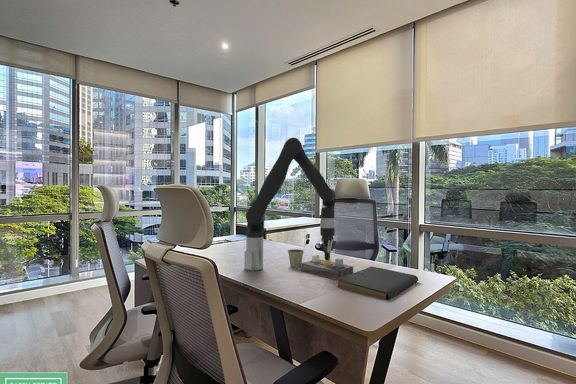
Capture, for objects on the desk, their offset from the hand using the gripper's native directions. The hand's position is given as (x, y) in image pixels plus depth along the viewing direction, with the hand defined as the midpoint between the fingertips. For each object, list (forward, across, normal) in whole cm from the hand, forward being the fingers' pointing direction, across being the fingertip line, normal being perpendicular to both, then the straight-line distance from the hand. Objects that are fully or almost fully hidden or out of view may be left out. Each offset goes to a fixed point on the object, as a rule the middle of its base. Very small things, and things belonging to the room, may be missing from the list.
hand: (327, 259), depth 157 cm
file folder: (+7, 0, +29) cm, 30 cm away
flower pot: (+7, +2, -20) cm, 21 cm away
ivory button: (+4, 0, -8) cm, 8 cm away
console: (+7, 0, 0) cm, 7 cm away
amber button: (+5, 0, 0) cm, 5 cm away
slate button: (+4, 0, +8) cm, 8 cm away
